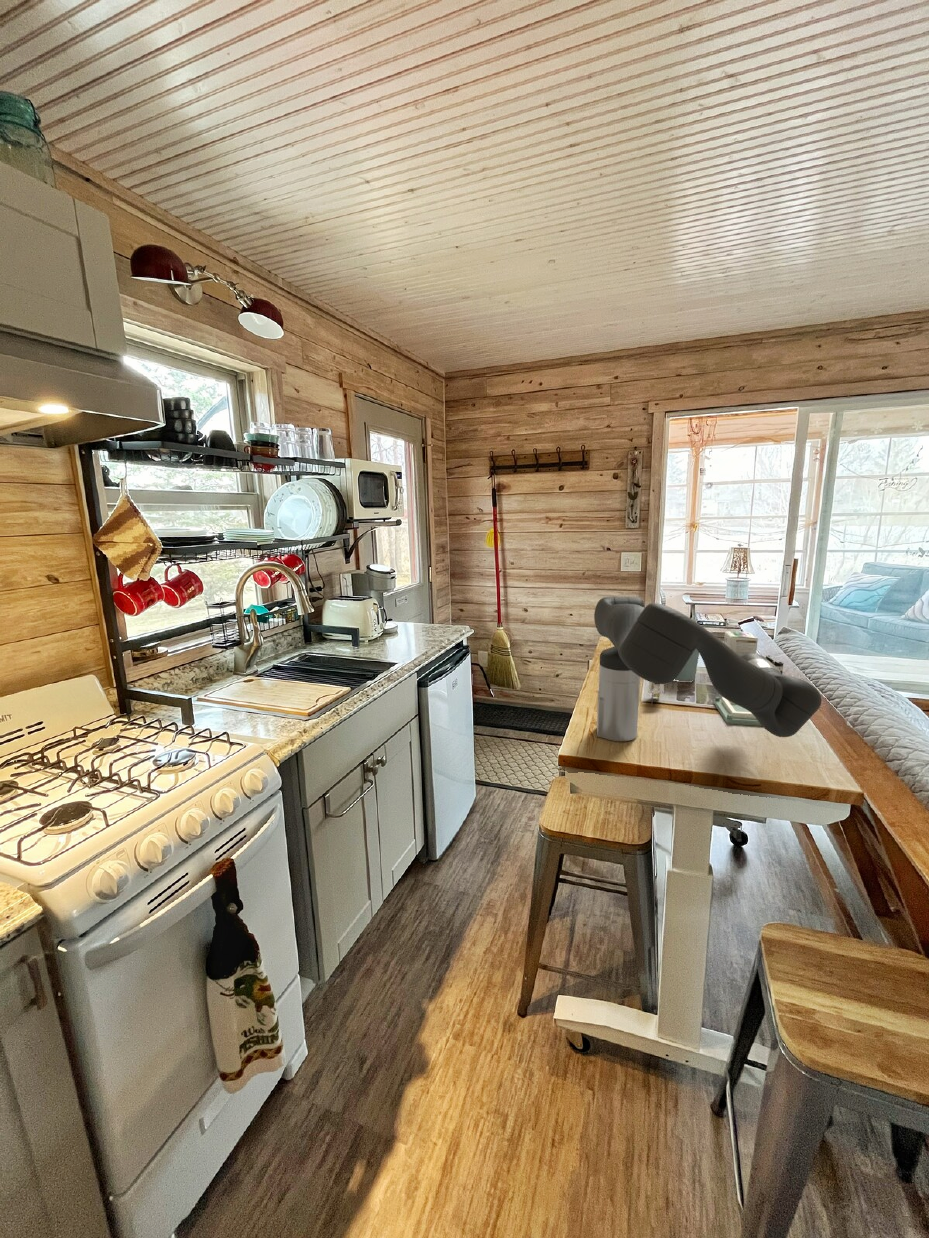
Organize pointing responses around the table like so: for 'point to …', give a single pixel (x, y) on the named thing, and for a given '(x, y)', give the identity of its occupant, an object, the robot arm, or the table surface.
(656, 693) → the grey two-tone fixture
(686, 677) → the grey-green cup
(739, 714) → the baseplate
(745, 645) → the syrup box
